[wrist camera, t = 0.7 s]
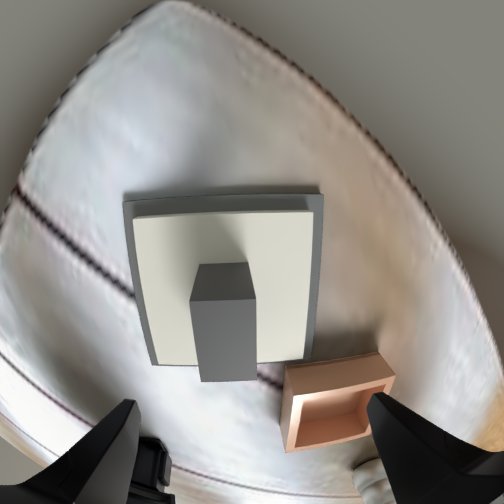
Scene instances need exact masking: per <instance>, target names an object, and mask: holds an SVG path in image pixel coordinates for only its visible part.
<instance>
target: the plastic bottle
mask: <svg viewBox="0 0 504 504" xmlns="http://www.w3.org/2000/svg"><path fill="white" fill-rule="evenodd" d="M352 481H353V484H354V486H355V488H356V490H357V491H358V492H359V493H360V495H361V497H362V499H363V501H364V503H365V504H396V501H395V498H394V495H393V492H392V489H391V486H390V483H389V480H388V478H387V475H386V472H385V469H384V466H383V464H382V461H381V459H380V458H379V459H374V460H371V461H368V462H366V463H364V464H362V465H360V466H359V467H357V468H356V469H355V470H354V472H353V475H352Z"/></svg>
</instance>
